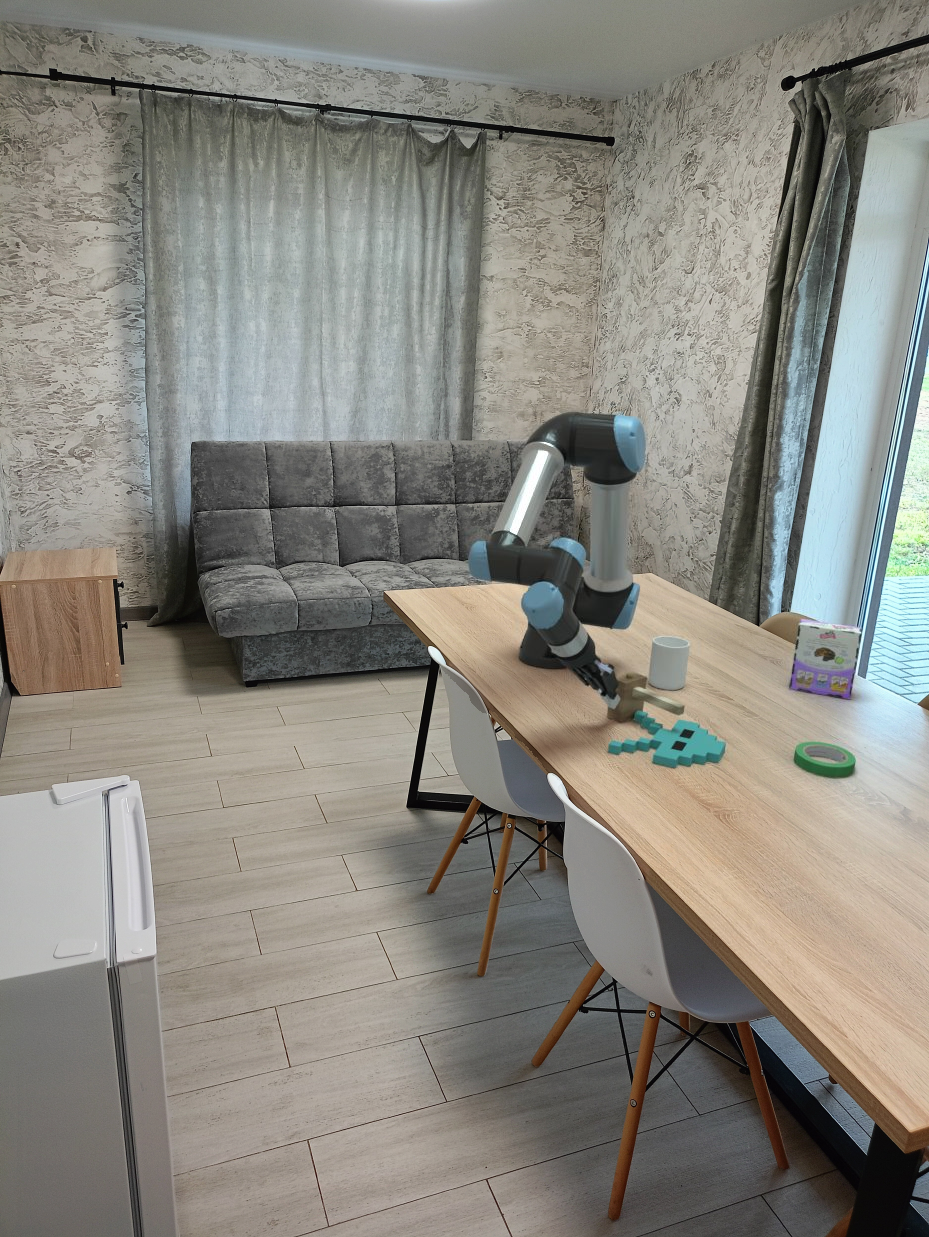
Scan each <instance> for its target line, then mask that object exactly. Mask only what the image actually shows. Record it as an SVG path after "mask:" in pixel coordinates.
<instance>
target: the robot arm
mask: <svg viewBox="0 0 929 1237" xmlns="http://www.w3.org/2000/svg"><path fill="white" fill-rule="evenodd" d="M646 447H647V444H646V433H645V429H644V425H643V423H642V421H641V420H640V419H639V418H638V417H636V416H631V415H630V416H629V415H624V414H622V413H617V414H610V413H606V414H605V413H593V412H579V411H566V412H563V413H560V414H557V415H555V416H553V417H551V418H549V419H548V420H546V421H545V422H544V423H542V424H541V425H539V426H538V427H537V429H535V431H534V432H532V434H531V435H530V436H529V438H528V439H527V440H526V442H525V444H524V447H523V448H522V450H521V453H520V454H521V455H520V459H521V464H520V467H519V469H518V472H517V474H516V475H515V478H514V481H513V483H512V485H511V488H510V490H509V493H508V495H507V497H506V500H505V501H504V504H503V507H502V509H501V511H500V513H499V516H498V517H497V521H496V523H495V525H494V527H493V530H492V532H491V534H490V536H489V539H488V540H483V541H482V540H477V541H475V542H474V543H473V544H472V546H471V547H470V551H469V554H468V560H467V561H468V563H467V564H468V570H469V573H470V575H471V576H472V577H473V578H475V579H478V580H482V581H485V582H486V581H488V582H491V583H492V582H495V583H503V584H509V585H510V584H511V585H512V584H513V585H520V586H524V587H525V586H526V587H528V589H527V591H525V592H524V593H523V595H522V597H521V600H520V605H521V611H522V612H523V613H524V615H525V616H526V618H527V628H526V631H525V633H524V635H523V639H522V641H521V643H520V645H519V649H518V659H519V660H520V661H521V662H523V663H525V664H527V665H530V666H533V667H536V668H537V667H538V668H542V669H543V668H544V669H545V668H546V669H564V668H567V669H569V671H570V672H571V673H573V675H575V676H576V678H577V679H578V680H580V682H581V683H583V685H585V686H586V687H589V686H590V687H591V688H592V690H594V691H596V692H597V694H598V695H599V696H600V697H601V699H602V700H603V701H604V703H605V704H606V705H607V708H608V707H610V708H613V709H615V708H616V706H617V704H618V703H619V701H620V699H621V698H620V697H619V695H618V694H617V693H616V691H615V690H616V689H617V687H618V685H619V684H618V681H617V679H616V676H617V675H616V674H615V671H614V669H615V665H613V664H612V663H608V664H604V663H602V659H601V658H600V657H599V656H597V654H596V644H595V641H594V639H593V638H592V637H591V635H590V634H589V633H588V631H587V629H586V628H585V627H584V626H585V625H586V626H592V627H593V626H594V627H599V628H605V629H610V630H621V631H624V630H627V629H629V628H630V626H631V625H632V622H633V619H634V615H635V612H636V610H637V609H636V608H637V606H638V600H639V597H640V592H641V585H640V584H639V583H637V582H634V577H633V573H632V572H631V571H630V570H629V569H628V545H629V544H628V542H629V539H628V538H629V516H630V515H629V513H630V512H629V510H630V507H629V506H630V504H629V503H630V484H631V482H633V481H635V479H636V478H637V475H638V474H637V473H639V472H641V471H643V469H644V466H645V461H646V449H647V448H646ZM568 466H570V467H579V468H583V477H584V479H585V480H586V481H587V482H588V483H589V484H590V497H589V498H590V505H589V506H590V515H589V516H590V526H589V527H590V528H589V529H590V532H589V534H590V537H589V538H590V542H589V544H590V545H589V546H590V547H589V548H590V549H589V550H590V552H589V554H590V558H589V559H590V560H589V562H590V563H589V564H590V566H589V567H590V568H589V569H588V570H586V572H585V571H584V570H585V569H584V567H585V565H586V564H585V563H586V558H587V551H586V549H585V548H584V546H583V545H582V544H581V543H579V542H578V541H577V540H575V539H573V538H569V537H560V538H555V539H554V540H552V541H551V543H550V544H549V546H548V547H547V548H542V547H532V546H528V544H529V540H530V538H531V536H532V535H533V531H534V529H535V527H536V523H537V521H538V519H539V517H540V514H541V511H542V510H543V506H544V504H545V502H546V499H547V497H548V495H549V491H550V489H551V487H552V484H553V482H554V479H555V477H556V476H558V475H559V474H561V472H563V469H564V467H568ZM584 572H585V573H584ZM583 574H584V575H583Z"/></svg>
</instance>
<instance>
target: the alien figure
mask: <svg viewBox="0 0 929 1237" xmlns="http://www.w3.org/2000/svg"><path fill="white" fill-rule="evenodd" d="M648 715H649V714H648V712H647V711H643V712H642V711H637V712H636V713H635V716H634V719H633V722H634V723H638V724H641V726H640V728H641V729H647V730H648V734H650V735H653V737H652V738H645V737H643V736H642V737H641V736H640V737H639V739H638V740H633V739H630V738H626V739H625V740H623V742H622V741H618V740H611V741H610V742H609V743H608V748H607V753H610V754H613V755H618V756H619V755H620V754H621V753H622V751H623V752H626V753H630V754H634V753H635V751H637V750H639V751H643V752H646V753H647V752H649V750H650V749H655V752H654V753H653V755H652V764H656V765H661V766H664V767H668V768H671V769H676V768H677V766H678V765H681V766H685V767H691V765H692V764H693V763H695V764H698V765H705V764H706V762H708V761H709V762H711V763H716V764H719V762H720V760H722V759H721V758H722V757H723V755H724V753H725V751H726V746H727V742H726V741H722V740H718V735H713V734H710V733H709V729H707V728H701V727H700V726H701V724H700V723H698V722H694V721H688V720H684V719H679V718H678V719H677V721H676V722H675V724H674V725H673V726H672V728H671V729H668V728H667V729H666V728H663V726H664V725H663V724H662V723H658V722H656V718H655V717H651V716H648Z"/></svg>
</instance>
